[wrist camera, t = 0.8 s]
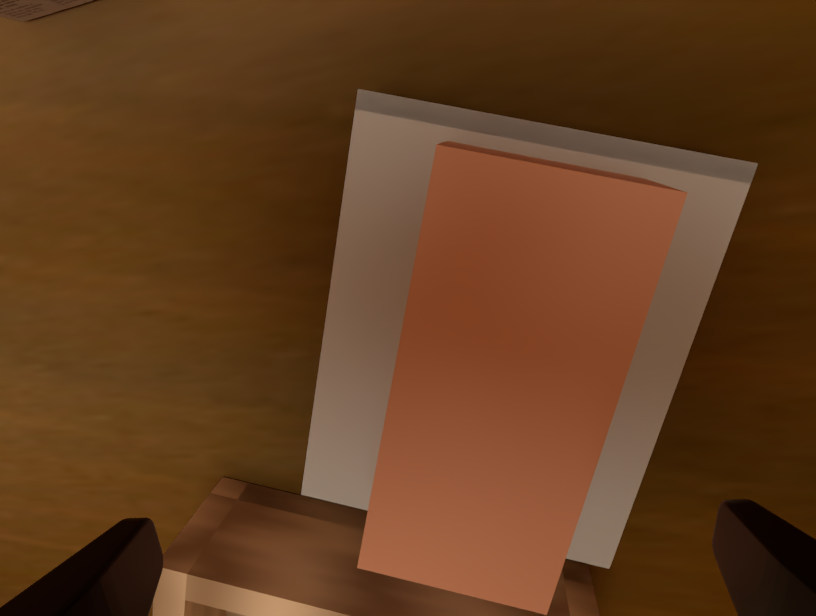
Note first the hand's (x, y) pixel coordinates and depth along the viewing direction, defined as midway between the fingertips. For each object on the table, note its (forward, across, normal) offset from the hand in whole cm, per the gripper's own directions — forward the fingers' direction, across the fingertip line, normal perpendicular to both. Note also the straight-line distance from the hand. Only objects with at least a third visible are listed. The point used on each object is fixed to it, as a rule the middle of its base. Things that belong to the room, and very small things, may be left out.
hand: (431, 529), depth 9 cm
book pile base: (+13, -3, +2) cm, 13 cm away
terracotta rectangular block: (+10, -2, +2) cm, 11 cm away
